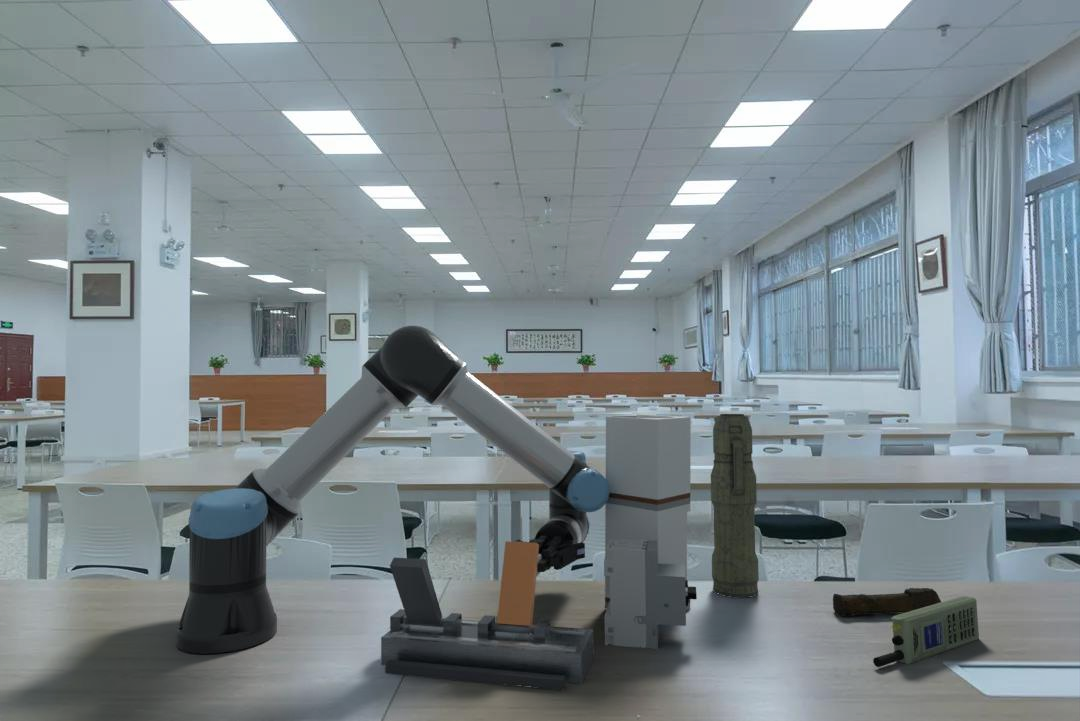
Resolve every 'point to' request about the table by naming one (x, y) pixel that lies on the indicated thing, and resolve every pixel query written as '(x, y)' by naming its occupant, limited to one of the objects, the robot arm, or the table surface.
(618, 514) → the white banded pillar
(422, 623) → the lever on
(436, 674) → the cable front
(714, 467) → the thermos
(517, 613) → the lever
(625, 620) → the circuit breaker
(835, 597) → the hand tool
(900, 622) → the handheld radio
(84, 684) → the table surface
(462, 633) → the grey slotted holder
